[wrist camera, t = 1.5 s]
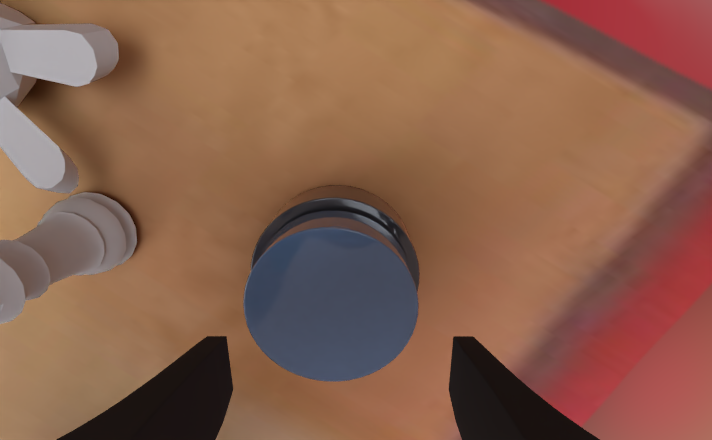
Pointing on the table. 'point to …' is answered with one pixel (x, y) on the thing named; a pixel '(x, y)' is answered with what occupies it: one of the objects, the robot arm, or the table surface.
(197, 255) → the table surface
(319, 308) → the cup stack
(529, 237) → the table surface
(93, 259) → the rook chess piece
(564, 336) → the table surface
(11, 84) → the bunny figurine
